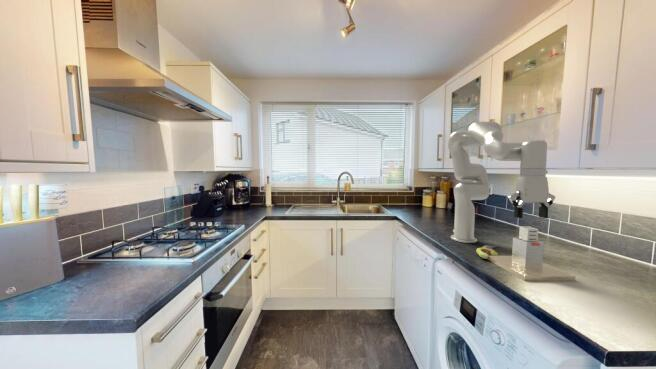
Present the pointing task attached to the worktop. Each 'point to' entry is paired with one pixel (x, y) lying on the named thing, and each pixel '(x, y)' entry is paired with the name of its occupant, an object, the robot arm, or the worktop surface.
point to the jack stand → (529, 263)
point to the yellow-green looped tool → (486, 251)
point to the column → (528, 234)
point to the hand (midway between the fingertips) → (530, 217)
